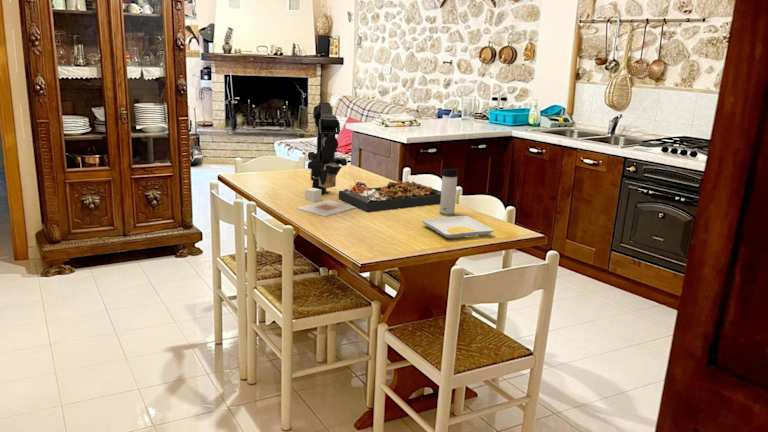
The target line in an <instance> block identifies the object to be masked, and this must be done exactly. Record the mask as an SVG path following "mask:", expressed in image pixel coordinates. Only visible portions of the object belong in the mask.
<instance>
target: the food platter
mask: <svg viewBox="0 0 768 432" xmlns="http://www.w3.org/2000/svg"><path fill="white" fill-rule="evenodd" d="M352 179H353V181H354V183H355V184H354V185H353V184H351V185H350V189H347V188H346V189H343V190H339V191H338V200H339V201H340V202H344V203H346V204H347V205H350V206H354V207H356V208H355V209H359V210H361V211H364V212H365V213H371V212H373V213H374V212H380V211H381V212H382V211H383V212H384V211H390V210H391V209H392V210H399V209H398V208H400V209H407V208H408V207H409V208H415V207H416V206H418V207H425V205H427V206H432V205H433V206H435V205H440V201H441V190H438V189H435V188H433V187H432V186H427V185H424V184H421V183H417V182H415V181H411V182H410V181H409V180H408V181H402V180H398V181H397V182H394V181H389V182H388V183H387V184H386V185H384V186H379V187H368V185H367V184H366V183H365V182H361V181H357V182H356V181H355V178H354V177H353V178H352ZM434 204H435V205H434Z"/></svg>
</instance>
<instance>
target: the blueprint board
mask: <svg viewBox="0 0 768 432" xmlns="http://www.w3.org/2000/svg"><path fill="white" fill-rule="evenodd" d="M354 209H355V210H356V209H357V208H356V207H354V206H352V205H350V204H347V203H346V204H345V203H341V202H337V201H333V200H327V199H326V200H324V201H318V202H314V203H310V204H306V205H302V206H298V207H296V210H297V211H301V212H306V213H309V214H314V215H317V216H321V217H325V218H326V217H329V216H333V215H336V214H341V213H344V212H347V211H352V210H354Z"/></svg>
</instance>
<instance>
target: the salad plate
mask: <svg viewBox="0 0 768 432" xmlns="http://www.w3.org/2000/svg"><path fill="white" fill-rule="evenodd" d="M421 222H422V224H423V225H425V226H426V227H427V228H429V229H430V230H431V229H432V230H433V231H434V230H435V231H434V232H436V233H438V234H439V233H440V234H439V235H441V236H442V237H445V238H447V239H457V238H456V237H465V236H476V235H483V236H486V235H490V234H491V233H493V232H494V229H493V228H492V227H489V226H487V225H485V224H484V223H482V222H480V221H479V220H476V219H474V218H473V217H470V216H468V215H458V216H457V215H456V216H454V215H453V216H441V217H433V218H432V217H431V218H424V219H423V218H422V219H421ZM453 227H465V228H470V229H471V230H473V229H474V230H475V231H476V232H465V233H457V234H451V233H449V232H448V231H447V230H448V228H450V229H451V228H453ZM476 237H477V236H476ZM465 238H466V237H465Z"/></svg>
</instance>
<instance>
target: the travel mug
mask: <svg viewBox="0 0 768 432" xmlns="http://www.w3.org/2000/svg"><path fill="white" fill-rule="evenodd" d="M458 171H459V170H458V169H457V168H447V169H445V168H444V169H442V179H441V190H440V191H441V201H440V204H439V205H440V206H439V214H440V215H441V214H442V215H441V216H444V215H453V216H454V215H455V207H456V198H457V197H456V196H457V184H458Z"/></svg>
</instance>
